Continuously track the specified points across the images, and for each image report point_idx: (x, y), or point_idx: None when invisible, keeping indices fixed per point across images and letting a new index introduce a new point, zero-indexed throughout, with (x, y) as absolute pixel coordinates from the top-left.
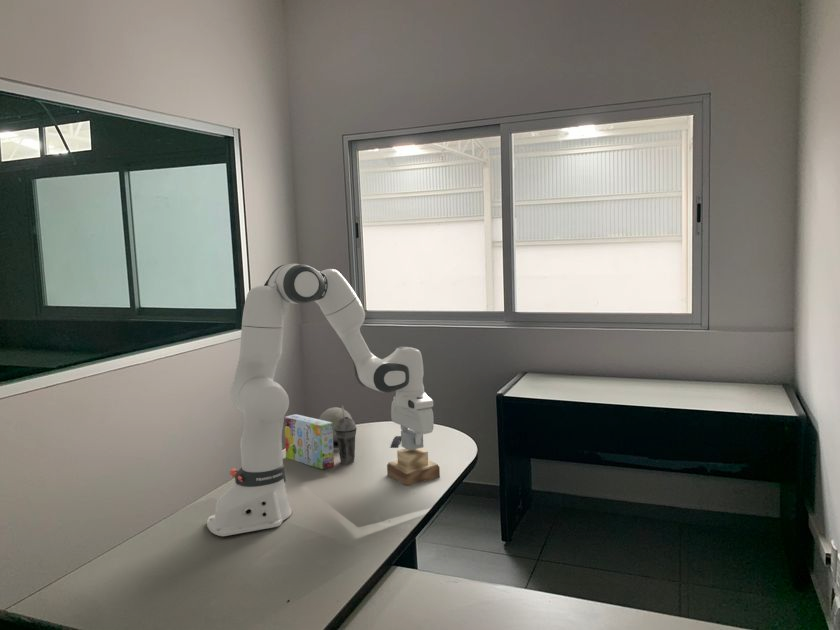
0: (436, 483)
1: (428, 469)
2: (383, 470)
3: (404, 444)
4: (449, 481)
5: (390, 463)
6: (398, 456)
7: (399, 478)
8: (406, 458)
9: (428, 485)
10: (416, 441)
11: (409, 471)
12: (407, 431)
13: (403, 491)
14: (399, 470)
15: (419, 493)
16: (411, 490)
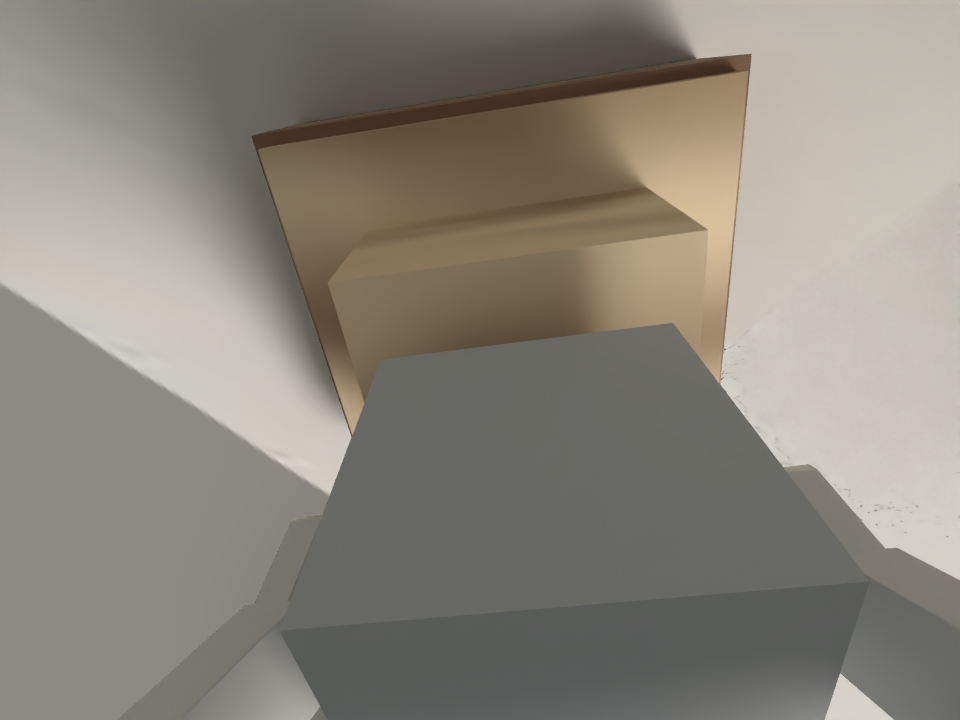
0: (266, 368)
1: (339, 399)
2: (852, 72)
3: (566, 369)
4: (276, 453)
5: (686, 84)
6: (642, 212)
7: (430, 103)
8: (403, 254)
9: (240, 301)
10: (274, 566)
11: (273, 194)
12: (646, 689)
13: (142, 22)
14: (431, 117)
15: (60, 154)
16: (153, 115)
